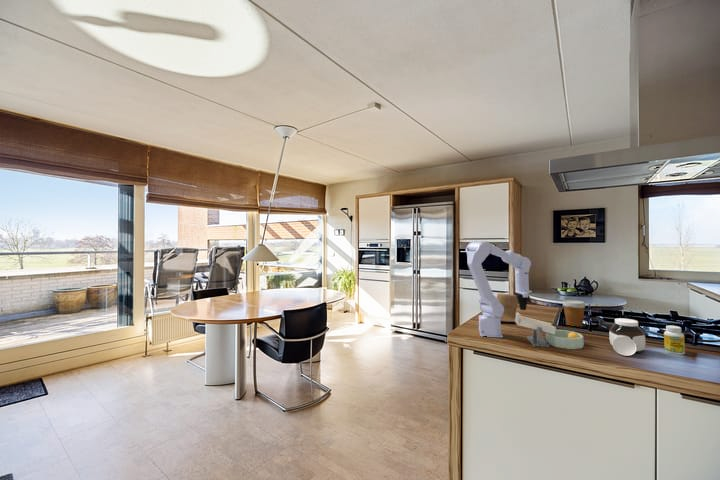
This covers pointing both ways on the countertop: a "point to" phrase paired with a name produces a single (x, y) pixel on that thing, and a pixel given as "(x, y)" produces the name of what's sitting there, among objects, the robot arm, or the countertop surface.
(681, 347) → the supplement bottle
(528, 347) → the countertop surface
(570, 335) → the ball
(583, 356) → the countertop surface
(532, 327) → the tipping trough
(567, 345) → the green round bowl
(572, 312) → the disposable coffee cup
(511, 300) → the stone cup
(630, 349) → the spread jar
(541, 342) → the launcher stand
